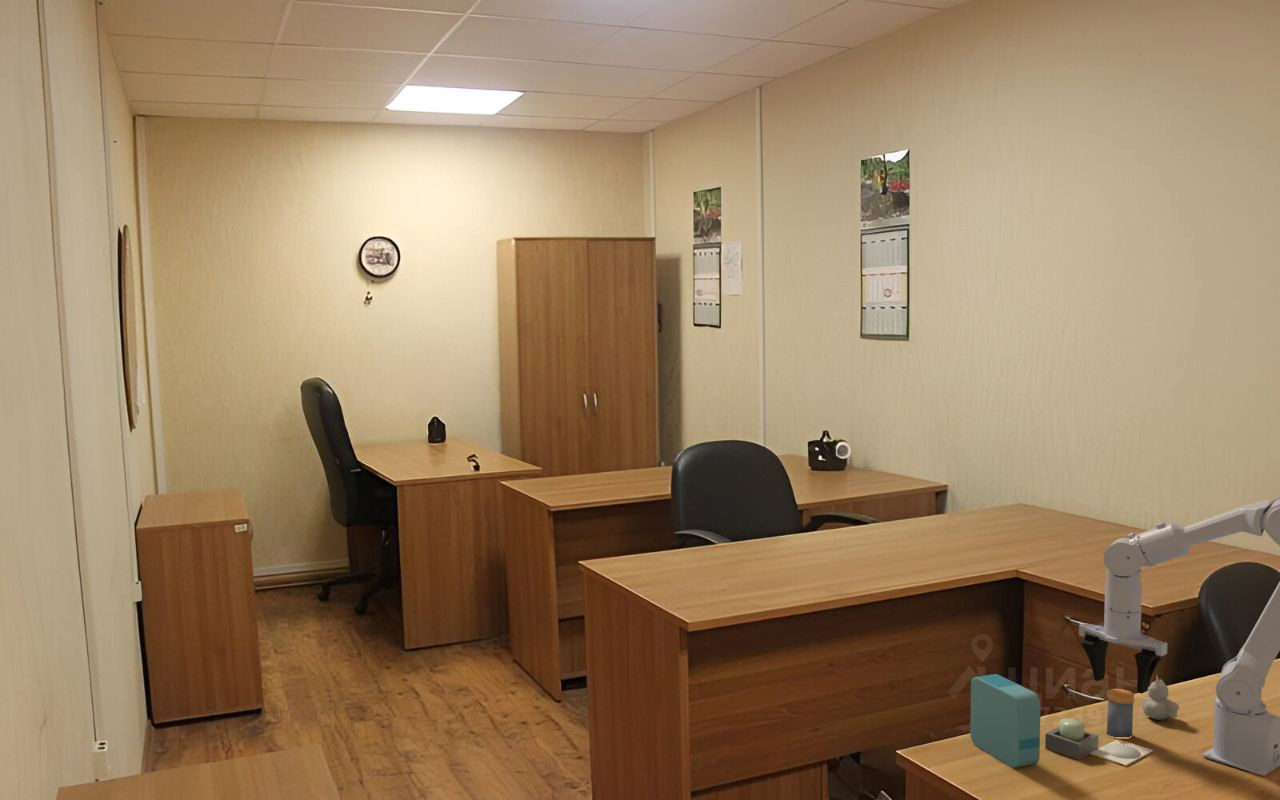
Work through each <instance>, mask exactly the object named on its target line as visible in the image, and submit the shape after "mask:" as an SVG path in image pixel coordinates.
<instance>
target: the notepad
mask: <svg viewBox="0 0 1280 800" xmlns="http://www.w3.org/2000/svg"><path fill="white" fill-rule="evenodd" d="M1127 742H1128V741H1126V743H1127ZM1130 743H1131V745H1130ZM1151 752H1152V753H1154V750H1153V749H1150V748H1147V747H1144V746H1141V745H1137V744H1135V743H1132V742H1129V744H1128V745H1127V744H1125V745H1123V744H1121V743H1120V742H1119V741H1118V740H1117V739H1115V740H1113V741H1111V742H1109V743H1106V744H1105V745H1103V746H1101V747H1098V749H1097V750H1095V751H1093V752H1091V753H1090V755H1091V756H1093V755H1094V756H1093V757H1096V756H1097V758H1099V757H1100V758H1099V759H1102V758H1103V759H1102V760H1105V759H1107V760H1106V761H1108V760H1110V761H1109V762H1111V761H1113V762H1112V763H1114V762H1116V763H1119V764H1122V765H1125V766H1126V765H1128V766H1130V765H1131V764H1130V763H1132V762H1134V761H1135V762H1137V761H1139V760H1141V759H1143V758H1144V756H1145V757H1146V755H1147V754H1148V755H1150V754H1152V753H1151ZM1149 753H1150V754H1149ZM1090 755H1089V756H1090ZM1148 755H1147V756H1148ZM1142 757H1143V758H1142ZM1140 758H1141V759H1140ZM1138 759H1139V760H1138ZM1136 760H1137V761H1136ZM1135 762H1134V763H1135ZM1116 763H1115V764H1116ZM1119 764H1118V765H1119ZM1129 764H1130V765H1129ZM1132 764H1133V763H1132ZM1122 765H1121V766H1122ZM1125 766H1124V767H1125ZM1126 767H1127V766H1126Z"/></svg>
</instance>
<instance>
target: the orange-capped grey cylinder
mask: <svg viewBox="0 0 1280 800" xmlns="http://www.w3.org/2000/svg"><path fill="white" fill-rule="evenodd" d="M1106 693H1107V694H1106V695H1107V696H1106V698H1107V713H1106V714H1107V716H1106V717H1107V718H1106V735H1107V734H1108V735H1110V736H1113V737H1130V736H1132V737H1133V726H1134V725H1133V723H1134V721H1133V719H1134V702H1135V694H1134V692H1132V691H1130V690H1126V689H1123V688H1110V689H1107V692H1106ZM1108 735H1107V736H1108ZM1110 736H1109V737H1110Z"/></svg>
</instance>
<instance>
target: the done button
mask: <svg viewBox="0 0 1280 800" xmlns="http://www.w3.org/2000/svg"><path fill="white" fill-rule="evenodd" d="M1085 725H1086V724H1085V722H1083V721H1081V720H1079V719H1076V718H1067V717H1066V718H1061V719H1060V721H1059V727H1060V736H1061V737H1064V738H1067V739H1070V740H1073V741H1076V742H1078V741H1080V740H1082V739H1084V731H1085V728H1086V727H1085Z"/></svg>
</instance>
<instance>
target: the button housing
mask: <svg viewBox="0 0 1280 800" xmlns="http://www.w3.org/2000/svg"><path fill="white" fill-rule="evenodd" d="M1045 749H1046V750H1049V751H1051V752H1055V753H1058V754H1060V755H1064V756H1065V757H1069V758H1071V759H1073V760H1074V759H1075V760H1077V761H1081V760H1082V759H1084V758H1085V757H1086V758H1087V757H1088V756H1090V753H1091V752H1093V751H1095V750H1097V749H1099V734H1094V733H1092V732H1089V731H1086V730H1084V739H1082V740H1080V741H1078V742H1076V741H1073V740H1070V739H1067V738H1064V737H1061V736H1060V726H1058V727H1056V728H1054V729H1052V730H1050V731H1048V732H1046V733H1045Z"/></svg>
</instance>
